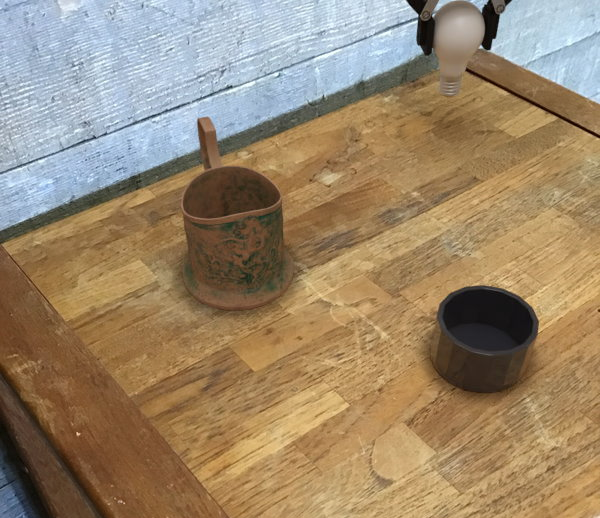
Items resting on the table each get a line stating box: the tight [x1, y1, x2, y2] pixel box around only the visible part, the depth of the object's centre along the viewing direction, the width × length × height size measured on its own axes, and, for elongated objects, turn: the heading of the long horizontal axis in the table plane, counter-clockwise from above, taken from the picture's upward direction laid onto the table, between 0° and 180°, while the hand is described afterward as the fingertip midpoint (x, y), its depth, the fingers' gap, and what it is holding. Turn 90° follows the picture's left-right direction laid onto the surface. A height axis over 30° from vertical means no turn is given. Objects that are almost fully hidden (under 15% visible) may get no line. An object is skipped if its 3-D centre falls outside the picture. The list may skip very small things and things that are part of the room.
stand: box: [430, 284, 540, 394], centre depth 67 cm, size 9×9×5 cm
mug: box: [180, 116, 295, 311], centre depth 74 cm, size 12×18×12 cm, turn 18°
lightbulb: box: [432, 0, 485, 99], centre depth 87 cm, size 6×6×11 cm
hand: (455, 46), depth 87 cm, fingers closed on lightbulb, 6 cm apart
